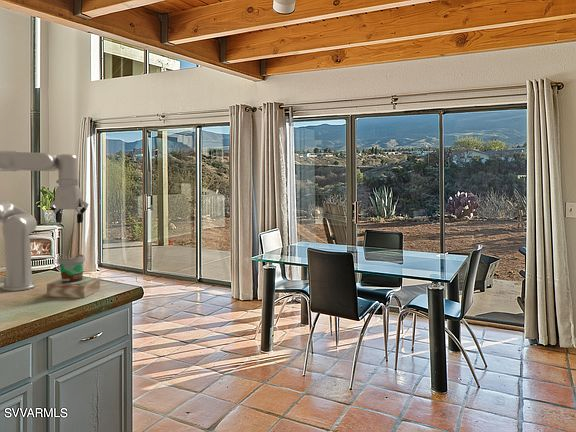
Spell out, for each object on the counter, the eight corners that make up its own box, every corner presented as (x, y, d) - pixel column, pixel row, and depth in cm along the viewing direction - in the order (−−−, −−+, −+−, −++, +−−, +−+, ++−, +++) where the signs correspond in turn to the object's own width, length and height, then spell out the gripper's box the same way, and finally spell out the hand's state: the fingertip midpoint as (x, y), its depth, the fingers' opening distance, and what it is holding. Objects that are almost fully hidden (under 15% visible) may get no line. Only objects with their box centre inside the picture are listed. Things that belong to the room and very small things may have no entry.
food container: (73, 284, 185) (72, 259, 184) (59, 283, 186) (58, 258, 185) (91, 277, 197) (91, 254, 196) (78, 277, 198) (78, 254, 197)
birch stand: (46, 296, 187) (46, 283, 186) (64, 289, 199) (64, 276, 199) (84, 298, 185) (83, 284, 185) (99, 290, 197) (99, 278, 197)
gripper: (44, 182, 197) (45, 222, 199) (82, 183, 195) (83, 223, 197) (54, 182, 205) (55, 221, 206) (91, 183, 203) (92, 222, 204)
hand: (69, 222), depth 202 cm, fingers open, 9 cm apart
